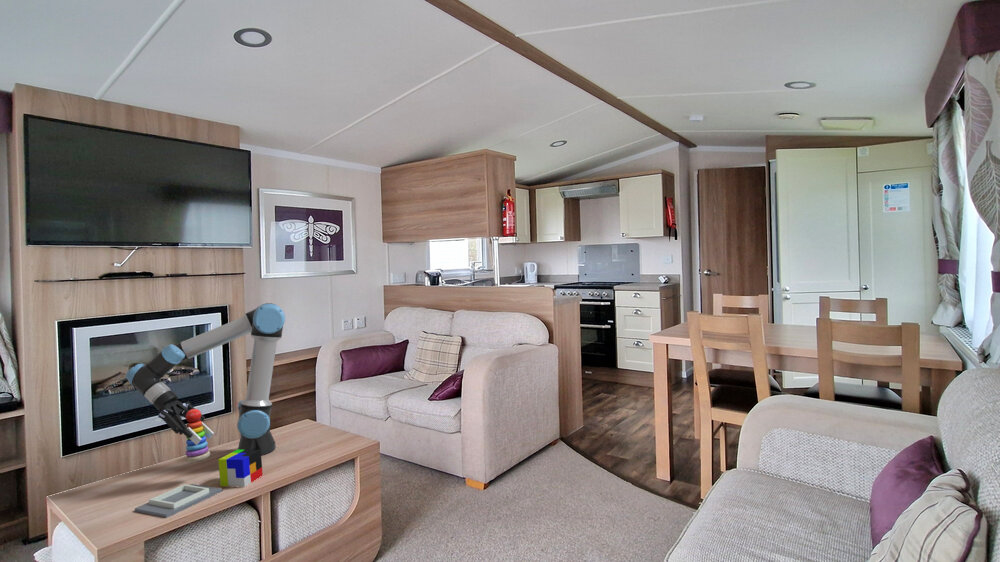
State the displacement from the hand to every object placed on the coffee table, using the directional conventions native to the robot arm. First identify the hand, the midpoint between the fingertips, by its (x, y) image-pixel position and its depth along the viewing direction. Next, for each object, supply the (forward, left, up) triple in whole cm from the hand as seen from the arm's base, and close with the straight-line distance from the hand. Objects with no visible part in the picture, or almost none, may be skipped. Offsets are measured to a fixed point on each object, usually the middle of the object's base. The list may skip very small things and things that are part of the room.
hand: (205, 438), depth 194 cm
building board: (+15, +6, -16) cm, 23 cm away
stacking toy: (+1, -3, -8) cm, 8 cm away
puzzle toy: (-4, +13, -16) cm, 21 cm away
